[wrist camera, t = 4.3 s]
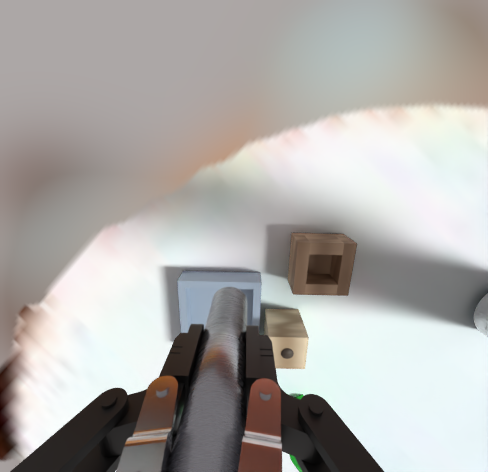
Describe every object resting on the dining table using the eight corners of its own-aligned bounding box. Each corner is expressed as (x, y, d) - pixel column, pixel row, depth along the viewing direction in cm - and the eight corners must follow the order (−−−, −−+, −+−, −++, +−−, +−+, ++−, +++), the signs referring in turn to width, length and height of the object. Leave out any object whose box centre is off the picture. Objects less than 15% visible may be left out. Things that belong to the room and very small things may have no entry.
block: (298, 309, 35) (308, 338, 29) (295, 336, 36) (304, 369, 30) (265, 308, 35) (268, 337, 29) (263, 335, 36) (267, 368, 30)
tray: (260, 272, 33) (261, 282, 30) (256, 346, 37) (257, 361, 34) (183, 270, 33) (177, 280, 30) (187, 344, 37) (183, 360, 34)
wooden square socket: (343, 233, 31) (357, 243, 27) (336, 280, 33) (348, 295, 29) (291, 232, 31) (297, 242, 27) (287, 279, 33) (293, 294, 29)
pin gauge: (247, 287, 17) (247, 553, 5) (246, 317, 17) (244, 608, 6) (211, 286, 17) (133, 549, 5) (212, 317, 18) (145, 605, 6)
